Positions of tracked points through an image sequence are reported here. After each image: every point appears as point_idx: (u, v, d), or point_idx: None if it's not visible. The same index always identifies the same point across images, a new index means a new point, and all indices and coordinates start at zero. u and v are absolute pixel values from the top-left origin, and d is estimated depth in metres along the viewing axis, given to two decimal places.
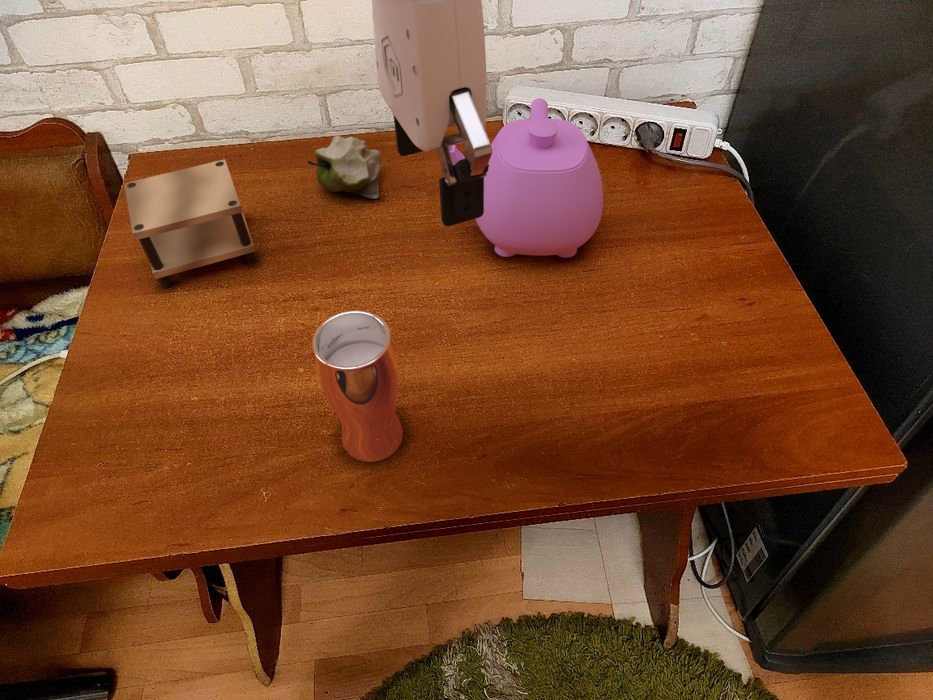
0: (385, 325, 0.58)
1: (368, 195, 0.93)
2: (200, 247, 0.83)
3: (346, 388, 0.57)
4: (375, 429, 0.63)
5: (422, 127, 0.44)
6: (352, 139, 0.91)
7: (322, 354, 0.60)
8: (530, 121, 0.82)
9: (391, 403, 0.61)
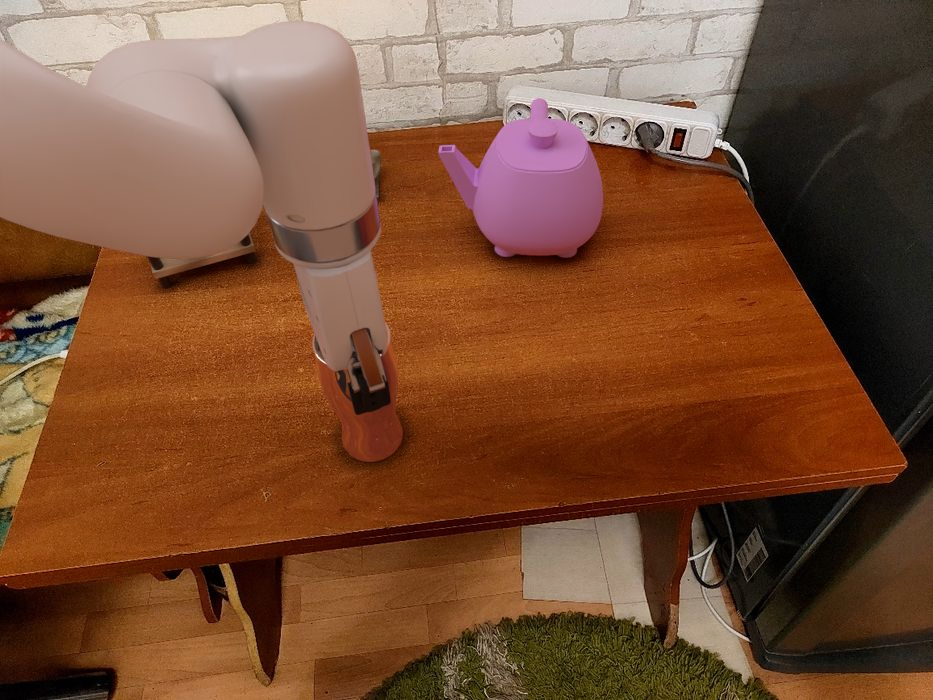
0: None
1: None
2: None
3: (346, 388, 0.57)
4: (375, 429, 0.63)
5: (328, 357, 0.51)
6: None
7: (322, 354, 0.60)
8: (530, 121, 0.82)
9: (391, 403, 0.61)
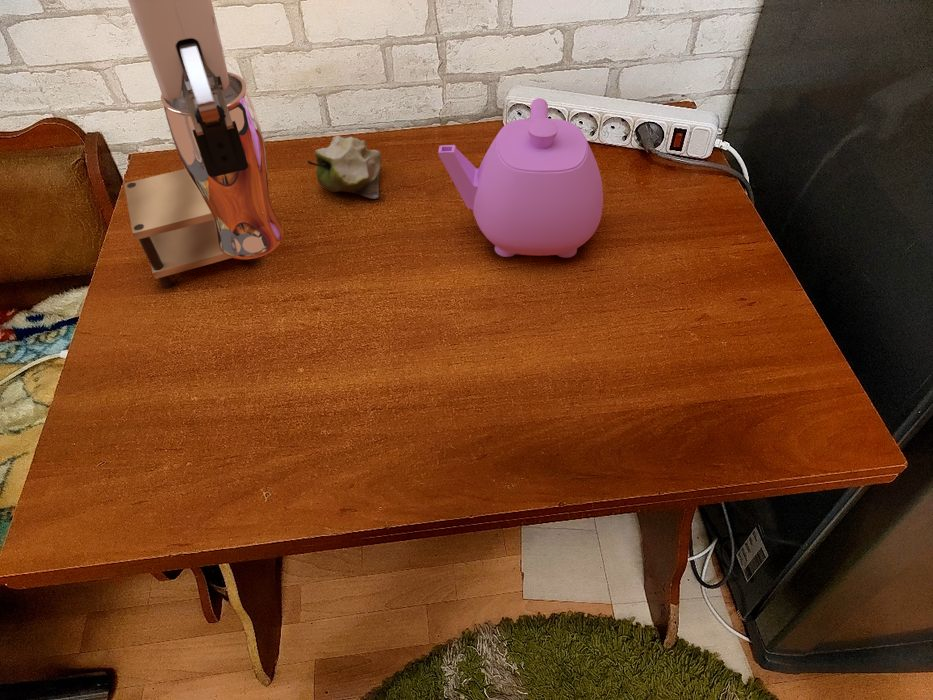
0: (242, 81, 0.54)
1: (368, 195, 0.93)
2: (200, 247, 0.83)
3: (196, 142, 0.53)
4: (242, 212, 0.59)
5: (157, 76, 0.47)
6: (352, 139, 0.91)
7: None
8: (530, 121, 0.82)
9: (256, 179, 0.58)
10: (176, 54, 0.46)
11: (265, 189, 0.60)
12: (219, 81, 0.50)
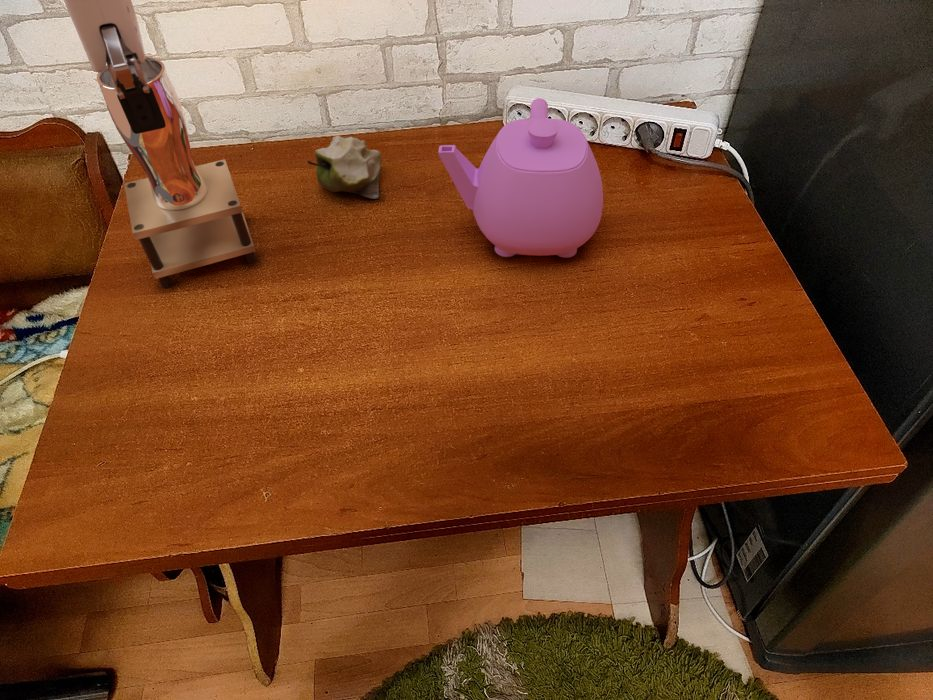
0: (162, 64, 0.69)
1: (368, 195, 0.93)
2: (200, 247, 0.83)
3: None
4: (168, 170, 0.74)
5: (86, 53, 0.62)
6: (352, 139, 0.91)
7: None
8: (530, 121, 0.82)
9: (177, 142, 0.73)
10: (99, 35, 0.61)
11: (187, 152, 0.75)
12: (136, 54, 0.64)
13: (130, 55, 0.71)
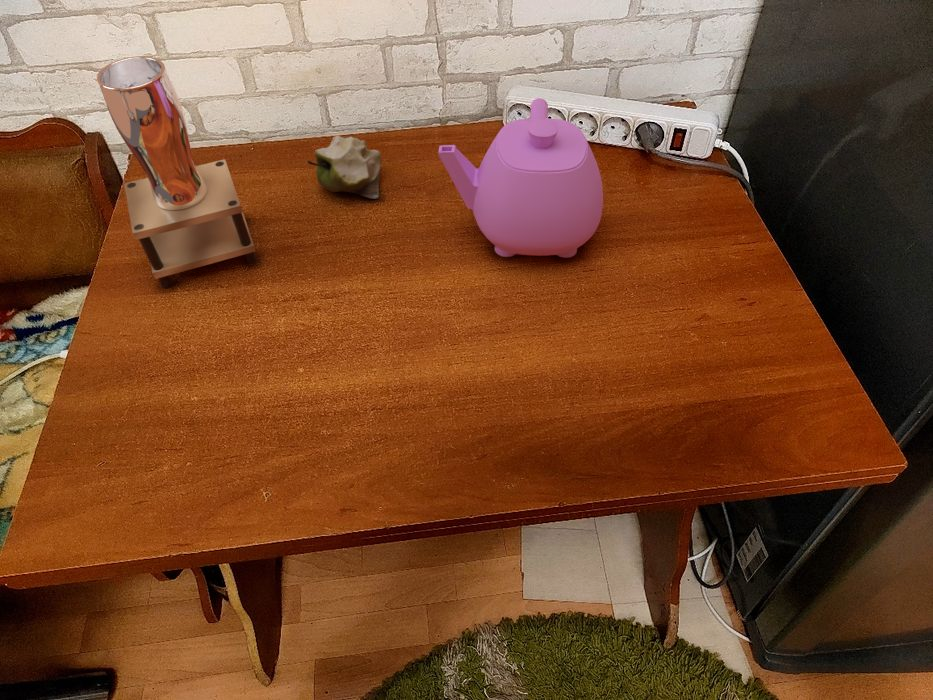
0: (162, 64, 0.69)
1: (368, 195, 0.93)
2: (200, 247, 0.83)
3: (125, 112, 0.68)
4: (168, 170, 0.74)
5: None
6: (352, 139, 0.91)
7: None
8: (530, 121, 0.82)
9: (177, 142, 0.73)
10: None
11: (187, 152, 0.75)
12: None
13: None
